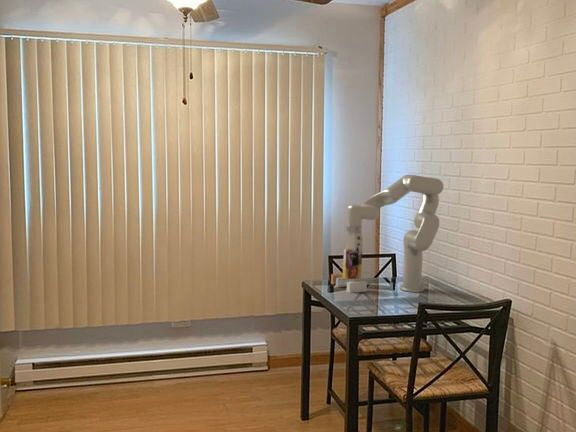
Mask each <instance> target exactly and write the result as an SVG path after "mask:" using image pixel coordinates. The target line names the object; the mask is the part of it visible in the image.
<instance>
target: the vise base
mask: <svg viewBox="0 0 576 432" xmlns="http://www.w3.org/2000/svg"><path fill="white" fill-rule="evenodd" d="M367 287H368V282H367V281H365V280H356V281H353V282H347V287H346V292H347V293H349V294H350V293H351V294H352V293H362V292H367Z"/></svg>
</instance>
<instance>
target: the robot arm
mask: <svg viewBox="0 0 576 432" xmlns="http://www.w3.org/2000/svg"><path fill="white" fill-rule="evenodd" d="M443 190H444V183H443V181H442V180H441V179H439V178H435V177H428V176H427V177H425V176H420V175H416V174H405V175H403V176H401V178H399V179H398V180H396V181H395V182H394V183H392V184H391V185H390V186H388V187H387V188H385V189H384V190H382V191H380V192H378V193H376V194H374V195H372V196H371V197H369V198H368V199H366V200H365V201H364V202H362V203H361V204H360V205H359V204H349V205H348V207H347V218H346V221H347V222H346V233H345V234H346V235H345V246H344V249H350V250H351V251H352V252H353V257H354V258H353V261H352V265H353V266H356V265H358V260H359V256H360V254H361V253H362V254H363V243H364V242H363V234H362V226H363V220H366V221H367V220H368V221H373V220H376V219H377V218H379V215H380V212H379V209H381V208H382V207H385V206H389V205H393V204H396V203H397V202H398V201H400V200H401V199H402V198H404V197H405V196H406V195H408V194H410V193H411V192H413V193H418V194H421V196H422V199H421V200H422V201H421V204H420V206H419V208H418V210H417V213H416V214H415V217H414V219H413V224H414V227H415V228H418V230H416V229H411V230H408V231H407V232H406V233H404V236H403V251H404V253H403V255H404V256H403V273H402V285H400V286H399V290H401V291H403V292H408V293H421V292H424V290H425V289H424V286H425V287H426V286H429V282H428V281H422V273H423V259H424V257H423V252H426V251H427V250H428V249H429V248H430V247H431V245H432V244H433V241H434V239H435V237H436V235H437V233H438V231H439V228H440V219H439V217H438V215H436V212H437V209H438V207H439V202H440V199H439V194H441V193H442V192H443ZM356 250H357V252H355V251H356ZM355 253H356V255H355Z"/></svg>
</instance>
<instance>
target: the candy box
mask: <svg viewBox="0 0 576 432" xmlns="http://www.w3.org/2000/svg"><path fill="white" fill-rule="evenodd" d="M355 252H357V250H356V251H355ZM355 255H356V253H355ZM353 258H354V257H353V252H352V251H351V250H350V249H345V248H344V249H343V259H342V260H343V261H342V262H343V263H342V274H343V278H344V279H355V280H361V279H362V265H363V264H362V262H363V260H362V259H363V252H362V253H361V254H360V256H359V260H358V265H356V266H353V265H352V261H353Z"/></svg>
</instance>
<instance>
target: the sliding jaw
mask: <svg viewBox="0 0 576 432" xmlns="http://www.w3.org/2000/svg"><path fill="white" fill-rule="evenodd" d="M355 280H356V279H344V278H343V273H334V274H333V273H331V274H330V284H331V285H335V287H336V288H347V282H353V281H355Z"/></svg>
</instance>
